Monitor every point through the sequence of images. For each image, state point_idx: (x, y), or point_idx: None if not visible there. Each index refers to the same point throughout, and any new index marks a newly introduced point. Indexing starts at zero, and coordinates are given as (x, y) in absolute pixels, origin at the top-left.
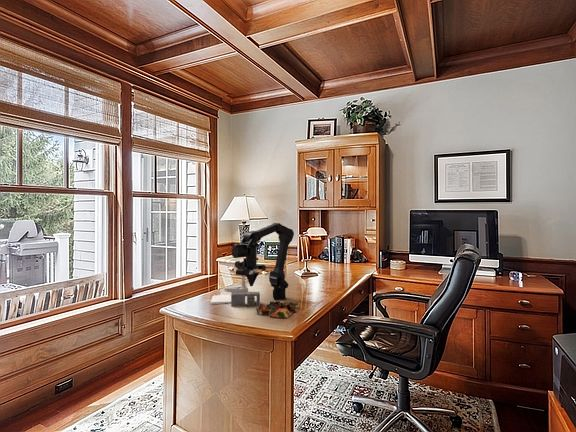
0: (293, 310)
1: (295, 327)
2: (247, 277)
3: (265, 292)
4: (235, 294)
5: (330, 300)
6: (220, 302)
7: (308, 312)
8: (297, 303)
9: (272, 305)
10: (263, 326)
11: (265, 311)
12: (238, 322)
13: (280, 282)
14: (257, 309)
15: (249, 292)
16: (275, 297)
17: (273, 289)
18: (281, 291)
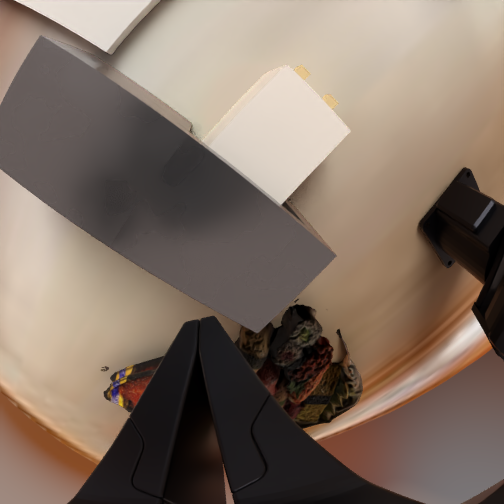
0: None
1: None
2: (101, 488)
3: (500, 51)
4: (13, 176)
5: (466, 362)
6: (29, 7)
7: None
8: (355, 399)
9: None
10: (81, 442)
11: None
12: (11, 384)
13: (494, 348)
14: (109, 400)
15: (218, 202)
16: (441, 220)
17: (494, 206)
18: (473, 275)
